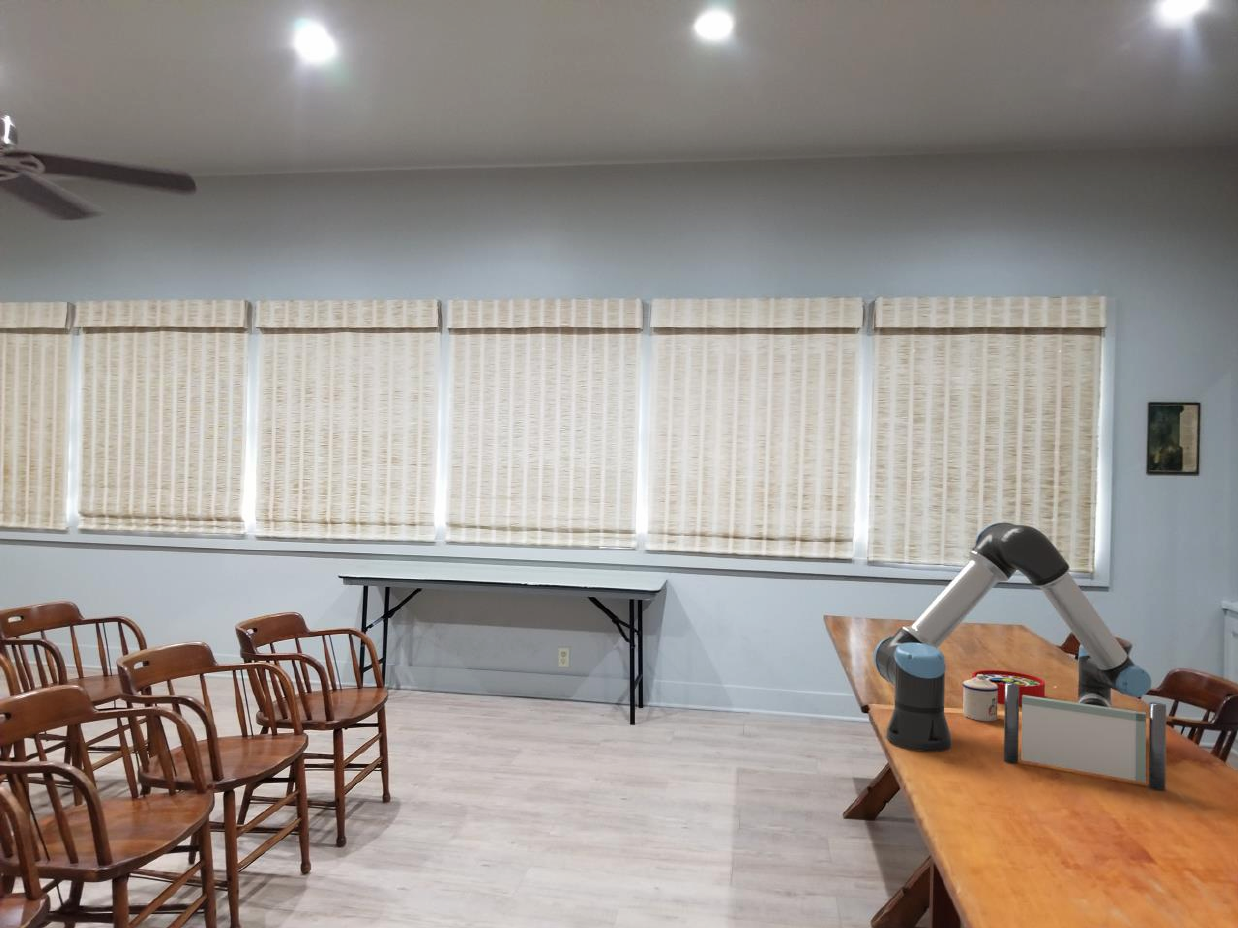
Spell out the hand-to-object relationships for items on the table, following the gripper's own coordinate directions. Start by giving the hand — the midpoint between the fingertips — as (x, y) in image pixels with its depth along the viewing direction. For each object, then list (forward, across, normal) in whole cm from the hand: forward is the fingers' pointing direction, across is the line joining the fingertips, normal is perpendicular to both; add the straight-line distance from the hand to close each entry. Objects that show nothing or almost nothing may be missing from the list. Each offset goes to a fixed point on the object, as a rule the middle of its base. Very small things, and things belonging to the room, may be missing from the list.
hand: (1092, 736), depth 184 cm
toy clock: (-57, +23, -8) cm, 62 cm away
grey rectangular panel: (+7, +2, -6) cm, 9 cm away
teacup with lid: (-30, +27, -7) cm, 41 cm away
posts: (+7, +2, -7) cm, 10 cm away
